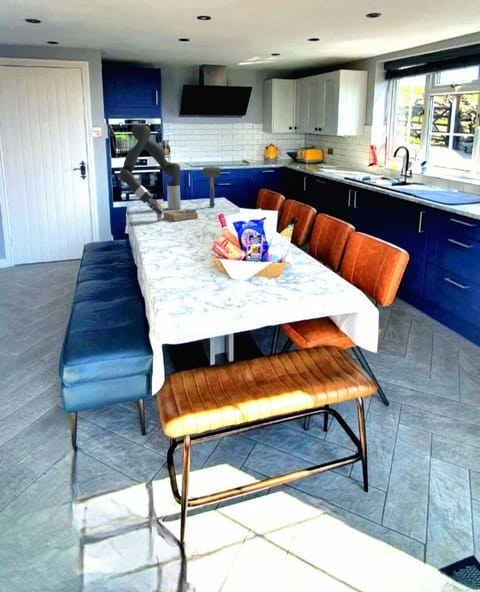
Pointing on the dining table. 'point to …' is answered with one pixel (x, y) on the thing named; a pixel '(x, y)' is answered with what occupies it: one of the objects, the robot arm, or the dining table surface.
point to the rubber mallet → (211, 180)
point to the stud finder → (191, 211)
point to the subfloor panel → (180, 215)
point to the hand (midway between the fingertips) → (162, 212)
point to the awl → (160, 207)
